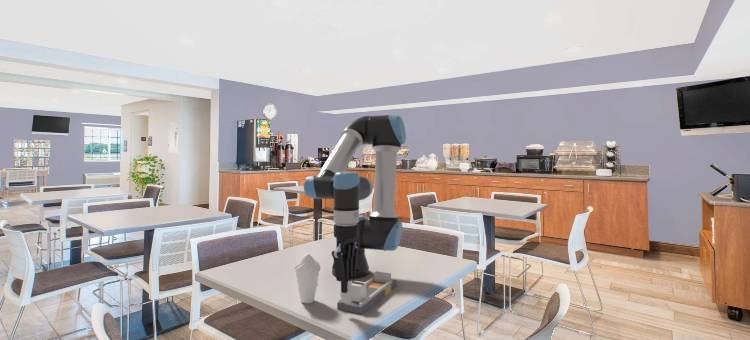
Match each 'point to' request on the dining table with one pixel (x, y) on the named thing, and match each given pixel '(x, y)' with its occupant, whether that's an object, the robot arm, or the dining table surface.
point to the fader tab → (358, 291)
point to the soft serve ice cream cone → (307, 278)
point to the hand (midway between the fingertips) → (346, 301)
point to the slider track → (371, 293)
